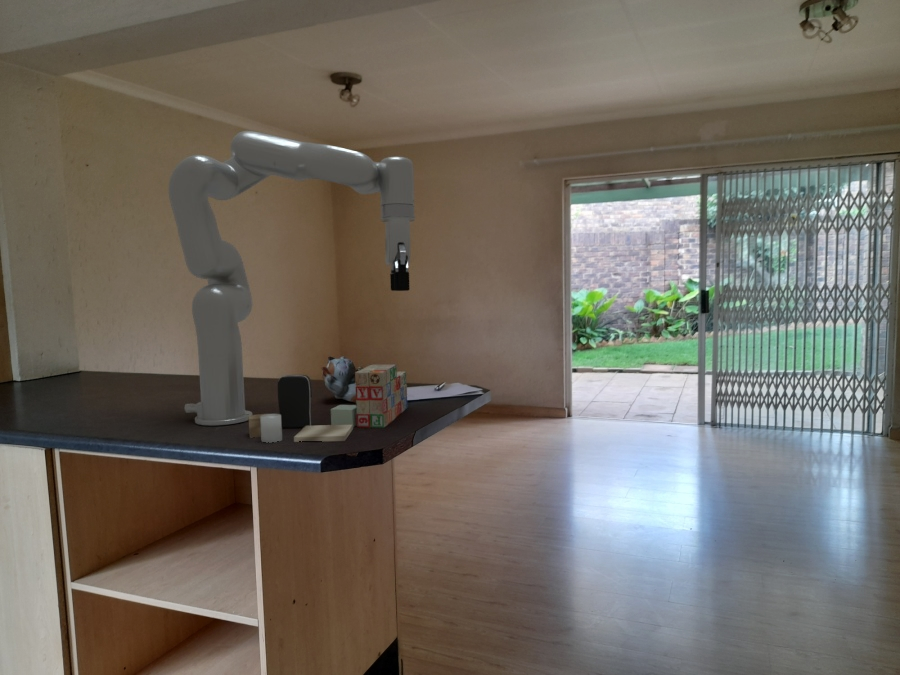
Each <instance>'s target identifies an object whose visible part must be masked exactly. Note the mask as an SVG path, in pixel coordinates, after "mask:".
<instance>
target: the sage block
mask: <svg viewBox="0 0 900 675" xmlns="http://www.w3.org/2000/svg"><path fill="white" fill-rule="evenodd" d="M330 423H331V424H330V425H353V428H354V427H355V426H356V427H357V406H356V404H339V405H337V406H335V407H333V408H331V409H330Z"/></svg>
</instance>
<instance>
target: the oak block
mask: <svg viewBox="0 0 900 675" xmlns="http://www.w3.org/2000/svg"><path fill="white" fill-rule="evenodd" d="M266 414H267V413H261V414H252V415H249V420H248V432H249V434H248V435H249V438H250V439H252V438H253V437H255V438H261V422H260V416H262V415H266Z"/></svg>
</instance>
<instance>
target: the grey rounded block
mask: <svg viewBox="0 0 900 675" xmlns="http://www.w3.org/2000/svg"><path fill="white" fill-rule="evenodd" d="M265 414H266V415H262V416H260V422H261V437H260V438H261V440H260V441H261V443H263V442H266V444H273V443H272V442H274V443H278V442H277V441H279V442H281V441H282V440H283V427H282V425H281V414H279V413H265ZM268 442H269V443H268Z"/></svg>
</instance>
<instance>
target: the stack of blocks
mask: <svg viewBox="0 0 900 675" xmlns="http://www.w3.org/2000/svg"><path fill="white" fill-rule="evenodd" d="M355 383H356V403H355V405H356V406H357V425H356V428H385V427H387V426H388V425H389V424H391V423H392V422H393V421H394V420H395V419H397V417H398V416H399V415H400V414H402V413H403V412H404V411H405V410H407V409H408V407H409V406H408V385H407V384H408V383H407V371H397V364H371V365H367V366H366V367H363V369H362V370H360V371H357V372H355Z"/></svg>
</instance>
